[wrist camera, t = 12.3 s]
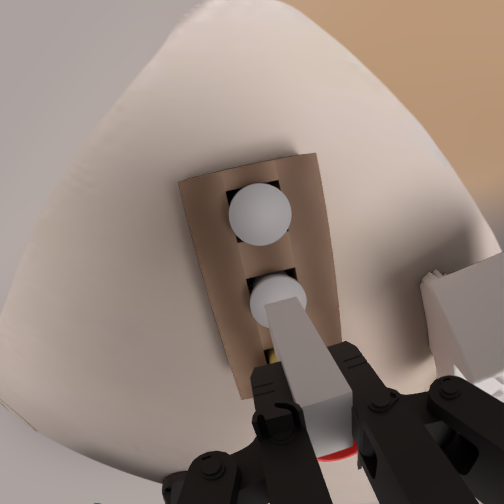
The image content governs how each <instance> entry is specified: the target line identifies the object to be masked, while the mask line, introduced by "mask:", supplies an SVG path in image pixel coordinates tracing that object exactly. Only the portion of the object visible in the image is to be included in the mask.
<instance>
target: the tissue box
mask: <svg viewBox="0 0 504 504" xmlns="http://www.w3.org/2000/svg"><path fill="white" fill-rule="evenodd" d="M421 280H422V282H421V283H420V285H419V286H420V290H421V295H422V300H423V305H424V311H425V316H426V322H427V328H428V338H429V346H430V350H431V352H432V354H433V356H434V360H435V365H436V371H437V378H440V377H443V376H447V375H452V376H458V377H461V378H463V379H465V380H467V381H468V382H470V383H472V384H473V385H475V386H477V387H478V388H480V389H482V390H483V391H485V392H487V393H488V394H490V395H492V396H493V397H495V398H497V399H498V400H500V401H502V402H503V403H504V251H503V252H501V253H499V254H496V255H494V256H492V257H489V258H487V259H485V260H482V261H480V262H478V263H475V264H473V265H470V266H468V267H466V268H463V269H461V270H458V271H456V272H453V273H451V274H448V275H446V272H445V273H443V274H441V273H440V272H438V271H437V270H436V269H435V270H434V272H433V273H430V272H429V273H428V274H426V275H425V276H424V277H423V278H422V279H421Z"/></svg>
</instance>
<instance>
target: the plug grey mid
mask: <svg viewBox="0 0 504 504" xmlns="http://www.w3.org/2000/svg"><path fill="white" fill-rule="evenodd" d="M249 280H250V284H251V288H252V293H251V296H250V308H251V312H252V315H253V317H254V318H255V320H256V321H257V322H258V323H259V324H261V325H262V326H264V327H267V328H269V325H268V321H267V317H266V312H265V308H264V305H265V304H269V303H273V302H277V301H281V300H285V299H289V298H292V297H297V298H298V300H299V302H300V303H301V305H302V307H303V308H304V310H305V308H306V304H307V298H306V294H305V291H304V290H303V288H302V286H301V285H300V283H299V282H298V281H297V280H295V279H294V278H292V277H290V276H289V275H288V274H287V272H286V270H281V271H277V272H273V273H269V274H265V275H261V276H256V277H252V278H249Z"/></svg>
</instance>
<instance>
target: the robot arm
mask: <svg viewBox="0 0 504 504" xmlns="http://www.w3.org/2000/svg"><path fill="white" fill-rule="evenodd" d="M264 308H265V312H266V317H267V321H268V325H269V329H270V334H271V338H272V342H273V346H274V351H275V355H276V358H277V361H278V362H275V363H271V364H267V365H263V366H259V367H255V368H254V369H253V372H252V374H251V376H250V380H251V386H252V392H253V398H254V404H255V410H256V412H255V413H254V415H253V418H252V425H253V427H254V430H255V433H256V435H257V436H256V438H255V439H254V441H253V442H252V443H251V444H250V445H249V446H247V447H245V448H244V449H242V450H240V451H238V452H235V453H233V454H231V455H229V454H228V453H226V452H221V451H212V452H207V453H204V454H202V455H200V456H198V457H197V458H196V459H195V460H193V462H192V464H191V465H190V467H189V469H188V472H180V473H176V474H173V475H170V476H168V477H167V478H165V480H164V481H163V486H162V495H163V498H164V501H165V504H268V503H270V504H333V503H332V500H331V497H330V495H329V492H328V489H327V486H326V483H325V480H324V478H323V475H322V472H321V469H320V466H319V463H318V460H317V458H318V457H322V456H325V455H328V454H331V453H334V452H337V451H340V450H343V449H346V448H349V447H352V446H353V439H354V441H355V443H356V445H357V447H358V461H357V465H358V470H359V469H361V468H362V467H363V469H364V471H365V473H366V475H367V477H368V480H369V482H370V484H371V486H372V488H373V490H374V492H375V495H376V497H377V499H378V501H379V503H380V504H479V503H478V501H477V500H476V498H477V499H478V500H479V501H481V502H482V503H483V504H504V403H503V402H502V401H500V400H498V399H497V398H495V397H493V396H492V395H490V394H488V393H487V392H485V391H483V390H482V389H480V388H478V387H477V386H475V385H473V384H472V383H470V382H468V381H467V380H465V379H463V378H461V377H458V376H452V375H447V376H443V377H440V378H438V379H436V380H435V381H434V382H433V383H432V384H431V385H430V389H429V391H427V392H422V393H417V394H410V395H403V394H400V393H399V392H398V391H396V390H394V389H391V388H387V387H386V386H385V385H384V384H383V382H382V381H381V379H380V378H379V377H378V375H377V374H376V373H375V371H374V370H373V368H372V367H371V366H370V364H369V363H367V360H366V359H365V358H364V356H362V353H361V352H360V351H359V349H358V348H357V347H356V346H355V345H353V344H351V343H349V342H347V341H344V342H341V343H338V344H335V345H332V346H328V347H326V345H325V344H324V342H323V340H322V339H321V337H320V335H319V334H318V332H317V330H316V328H315V327H314V325H313V323H312V322H311V320H310V318H309V317H308V315H307V313H306V312H305V310H304V308H303V307H302V305H301V303H300V302H299V300H298V298H297V297H292V298H289V299H285V300H281V301H277V302H273V303H269V304H265V305H264ZM95 504H99V503H95Z"/></svg>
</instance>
